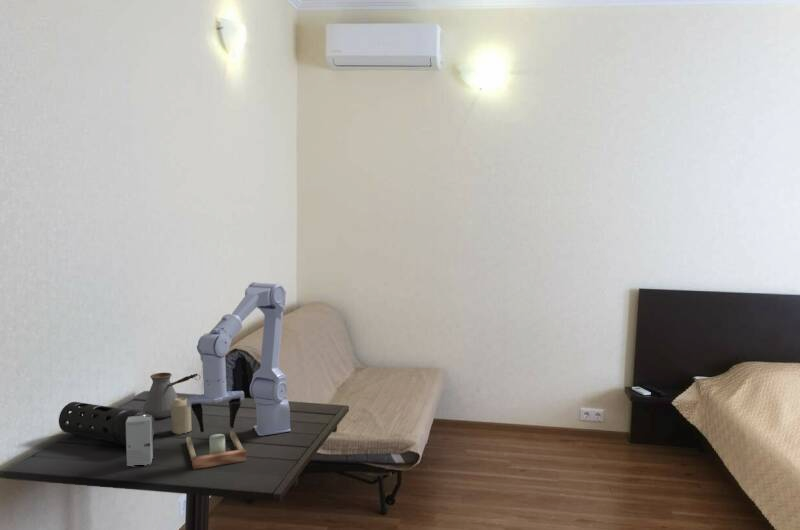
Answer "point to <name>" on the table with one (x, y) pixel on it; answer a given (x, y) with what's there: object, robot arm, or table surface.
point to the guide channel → (217, 455)
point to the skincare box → (139, 440)
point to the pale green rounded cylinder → (217, 443)
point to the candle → (180, 416)
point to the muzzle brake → (98, 421)
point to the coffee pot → (162, 395)
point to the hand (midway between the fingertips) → (216, 428)
